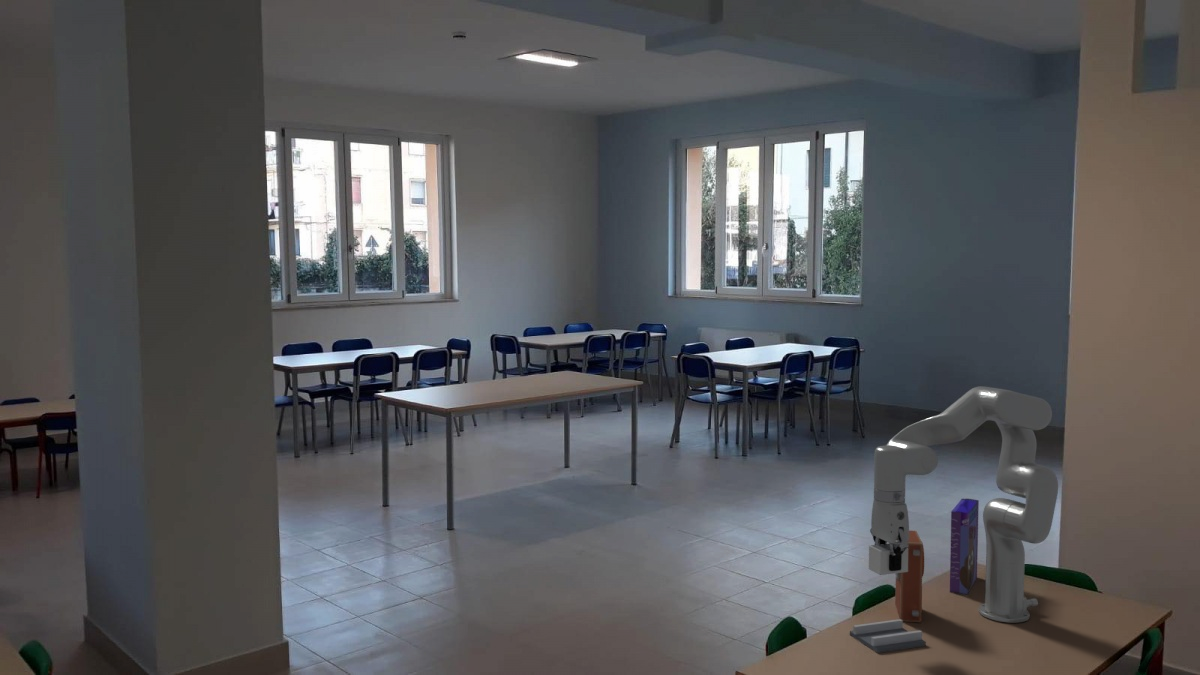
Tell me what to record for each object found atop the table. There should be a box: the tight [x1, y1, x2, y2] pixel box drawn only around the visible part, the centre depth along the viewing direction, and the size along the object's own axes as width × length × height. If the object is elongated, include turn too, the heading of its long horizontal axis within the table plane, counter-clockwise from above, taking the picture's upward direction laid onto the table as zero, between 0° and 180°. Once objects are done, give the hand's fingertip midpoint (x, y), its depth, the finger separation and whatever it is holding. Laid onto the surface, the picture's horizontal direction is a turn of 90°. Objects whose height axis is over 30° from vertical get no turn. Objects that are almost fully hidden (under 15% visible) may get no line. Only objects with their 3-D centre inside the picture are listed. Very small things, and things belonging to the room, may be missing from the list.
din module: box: [868, 543, 908, 576], centre depth 234 cm, size 8×5×6 cm, turn 107°
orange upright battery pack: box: [894, 529, 925, 623], centre depth 253 cm, size 21×7×15 cm
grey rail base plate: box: [849, 618, 927, 654], centre depth 236 cm, size 14×12×3 cm
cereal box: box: [949, 498, 980, 596], centre depth 276 cm, size 17×5×24 cm, turn 149°
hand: (888, 566), depth 234 cm, fingers closed on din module, 5 cm apart
